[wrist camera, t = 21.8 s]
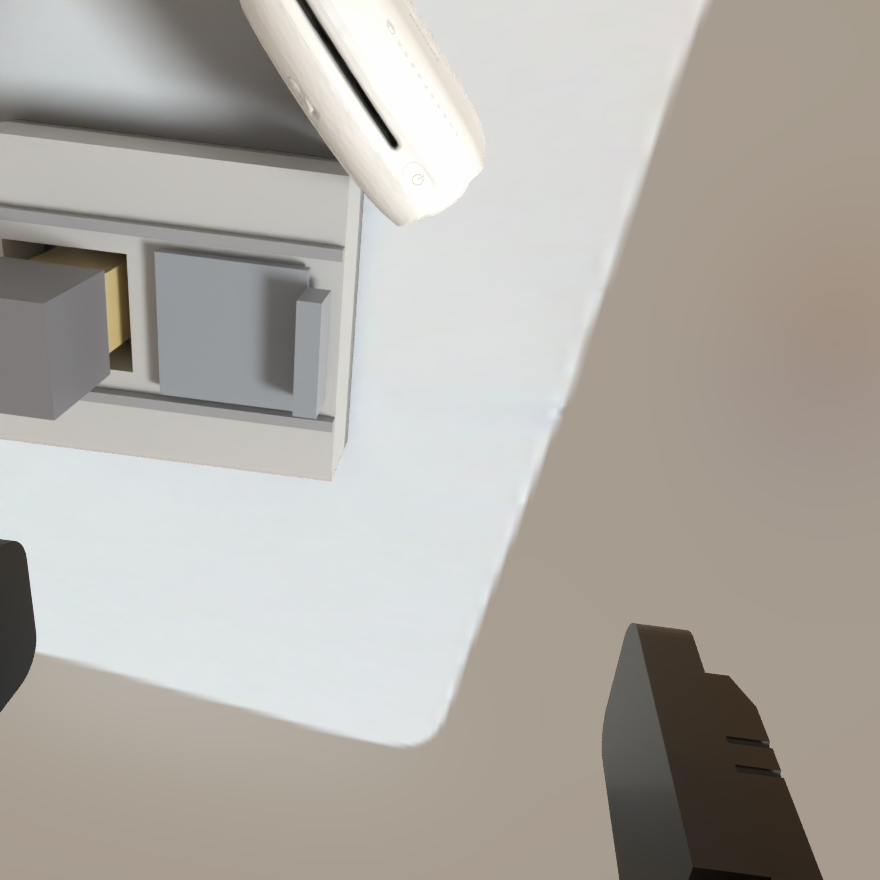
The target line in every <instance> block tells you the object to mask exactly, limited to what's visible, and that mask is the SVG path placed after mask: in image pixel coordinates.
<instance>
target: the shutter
mask: <svg viewBox="0 0 880 880" xmlns="http://www.w3.org/2000/svg"><path fill="white" fill-rule="evenodd" d="M154 254H155V279H156V304H157V329H158V355H159V380H160V394H161V395H169V396H177V397H185V398H193V399H201V400H209V401H216V402H224V403H232V404H240V405H248V406H256V407H264V408H271V409H279V410H287V411H293V416H296V417H304V418H312V419H316V418H317V416H318V414H319V412H320V410H321V408H322V406H323V404H324V402H325V396H326V377H327V358H328V340H329V321H330V302H331V290H324V289H316V288H310V278H311V267H305V266H297V265H289V264H281V263H273V262H264V261H256V260H248V259H240V258H232V257H224V256H216V255H208V254H200V253H192V252H184V251H176V250H168V249H158V250H156V251H155V252H154Z"/></svg>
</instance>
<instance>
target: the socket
mask: <svg viewBox="0 0 880 880" xmlns="http://www.w3.org/2000/svg"><path fill="white" fill-rule="evenodd" d="M363 199H364V192H363V191H361V190H360V189H359V187H358V186H357V185H356V184H355V182H354V181H353V180H352V178H351V177H350V176H349V174H348V173H347V172H346V171H345V169H344V168H343V167H342V165H341V164H340V163H339V161H338V160H337V159H334V158H325V157H317V156H309V155H301V154H293V153H285V152H277V151H268V150H260V149H252V148H244V147H236V146H228V145H220V144H211V143H203V142H195V141H187V140H179V139H171V138H163V137H154V136H146V135H138V134H130V133H122V132H114V131H106V130H97V129H89V128H81V127H73V126H65V125H57V124H48V123H40V122H32V121H24V120H9V121H2V122H0V256H1V257H9V258H16V259H24V260H29V259H31V258H33V257H35V256H38V255H40V254H42V253H44V252H47V251H49V250H51V249H53V248H56V247H58V246H66V247H74V248H82V249H90V250H98V251H106V252H114V253H122V254H127V271H128V290H129V308H130V326H131V337H130V338H129V339H127V340H126V341H125V342H123V343H122V344H121V345H119V346H118V347H117V348H116V349H114V350H113V351H112V352H110V353H109V359H110V375H109V376H108V377H106V378H105V379H104V380H103V381H102V382H100V383H99V384H98V385H97V386H96V387H94V388H93V389H92V390H91V391H90V392H88V393H87V394H86V395H85V396H84V397H82V398H81V399H80V400H79V401H78V402H76V403H75V404H74V405H73V406H72V407H70V408H69V409H68V410H67V411H66V412H64V413H63V414H62V415H61V416H60V417H58V418H57V419H56V420H55V421H53V420H46V419H38V418H31V417H24V416H16V415H9V414H1V413H0V439H4V440H12V441H19V442H27V443H35V444H43V445H51V446H58V447H66V448H74V449H82V450H90V451H97V452H105V453H113V454H121V455H129V456H136V457H144V458H152V459H160V460H167V461H175V462H183V463H191V464H199V465H206V466H214V467H222V468H230V469H238V470H245V471H253V472H261V473H269V474H277V475H284V476H292V477H300V478H308V479H316V480H323V481H332V478H333V476H334V473H335V471H336V468H337V466H338V463H339V461H340V458H341V456H342V453H343V451H344V448H345V445H346V443H347V437H348V422H349V407H350V392H351V378H352V363H353V348H354V333H355V318H356V303H357V288H358V273H359V258H360V243H361V228H362V214H363ZM158 249H168V250H176V251H184V252H192V253H200V254H208V255H216V256H224V257H232V258H240V259H248V260H256V261H264V262H273V263H281V264H289V265H297V266H305V267H311V278H310V288H316V289H324V290H331V302H330V321H329V340H328V358H327V377H326V396H325V402H324V404H323V406H322V408H321V410H320V412H319V414H318V416H317V418H316V419H312V418H304V417H296V416H293V411H287V410H279V409H271V408H264V407H256V406H248V405H240V404H232V403H224V402H216V401H209V400H201V399H193V398H185V397H177V396H169V395H161V394H160V380H159V355H158V329H157V304H156V279H155V254H154V252H155V251H156V250H158Z"/></svg>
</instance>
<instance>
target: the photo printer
mask: <svg viewBox="0 0 880 880" xmlns="http://www.w3.org/2000/svg"><path fill="white" fill-rule="evenodd" d="M240 3H241V7H242V9H243V12H244V14H245V16H246V18H247V19H248V21H249V23H250V25H251V27H252V29H253V31H254V32H255V34H256V36H257V38H258V39H259V41H260V43H261V45H262V46H263V48H264V50H265V51H266V53H267V55H268V56H269V58H270V59H271V61H272V63H273V64H274V66H275V67H276V69H277V71H278V72H279V74H280V76H281V77H282V79H283V80H284V82H285V83H286V85H287V87H288V88H289V90H290V91H291V93H292V94H293V96H294V97H295V99H296V100H297V102H298V104H299V105H300V107H301V108H302V110H303V111H304V113H305V114H306V116H307V117H308V119H309V120H310V122H311V123H312V124H313V126H314V127H315V129H316V130H317V132H318V133H319V135H320V136H321V137H322V139H323V140H324V142H325V143H326V144H327V146H328V147H329V149H330V150H331V152H332V153H333V154H334V156H335V157H336V158H337V160H338V161H339V163H340V164H341V165H342V167H343V168H344V169H345V171H346V172H347V173H348V174H349V176H350V177H351V178H352V180H353V181H354V182H355V184H356V185H357V186H358V187H359V189H360V190H361V191H363V192H364V193H365V194H366V196H367V197H368V198H369V199H370V200H371V201H372V202H373V204H374V205H375V206H376V207H377V208H378V209H379V210H380V211H381V212H382V213H383V214H384V215H386V216H387V217H388V218H389V219H390V220H391V221H392V222H394V223H395V224H396V225H398V226H405V225H407V224H410V223H412V222H414V221H416V220H418V219H420V218H428V217H432V216H434V215H436V214H438V213H440V212H442V211H443V210H445V209H447V208H448V207H450V206H451V205H452V204H454V203H455V202H456V201H457V200H459V199H460V198H461V196H462V195H463V194H464V192H465V191H466V189H467V187H468V185H469V182H470V181H471V180H472V179H473V178H474V177H475V176H477V175H478V174H479V173H480V171H481V170H482V169H483V167H484V159H485V146H486V139H485V135H484V132H483V129H482V126H481V124H480V121H479V119H478V116H477V114H476V112H475V110H474V108H473V106H472V104H471V102H470V100H469V99H468V97H467V95H466V93H465V91H464V90H463V88H462V86H461V84H460V82H459V81H458V79H457V77H456V75H455V74H454V72H453V70H452V68H451V67H450V65H449V63H448V61H447V60H446V58H445V56H444V54H443V53H442V51H441V49H440V48H439V46H438V44H437V42H436V41H435V39H434V38H433V36H432V34H431V33H430V31H429V29H428V28H427V26H426V24H425V23H424V21H423V19H422V18H421V16H420V15H419V13H418V11H417V10H416V8H415V7H414V5H413V4H412V2H411V0H240Z"/></svg>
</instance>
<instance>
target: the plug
mask: <svg viewBox="0 0 880 880" xmlns="http://www.w3.org/2000/svg"><path fill="white" fill-rule="evenodd" d="M130 337H131V326H130V308H129V290H128V271H127V254H122V253H114V252H106V251H98V250H90V249H82V248H74V247H66V246H58V247H56V248H53V249H51V250H49V251H47V252H44V253H42V254H40V255H38V256H35V257H33V258H31V259H29V260H24V259H16V258H9V257H1V256H0V413H1V414H9V415H16V416H24V417H31V418H38V419H46V420H53V421H55V420H56V419H57V418H58V417H60V416H61V415H62V414H63V413H64V412H66V411H67V410H68V409H69V408H70V407H72V406H73V405H74V404H75V403H76V402H78V401H79V400H80V399H81V398H82V397H84V396H85V395H86V394H87V393H88V392H90V391H91V390H92V389H93V388H94V387H96V386H97V385H98V384H99V383H100V382H102V381H103V380H104V379H105V378H106V377H108V376H109V375H110V359H109V353H110V352H112V351H113V350H114V349H116V348H117V347H118V346H119V345H121V344H122V343H123V342H125V341H126V340H127V339H129V338H130Z"/></svg>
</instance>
